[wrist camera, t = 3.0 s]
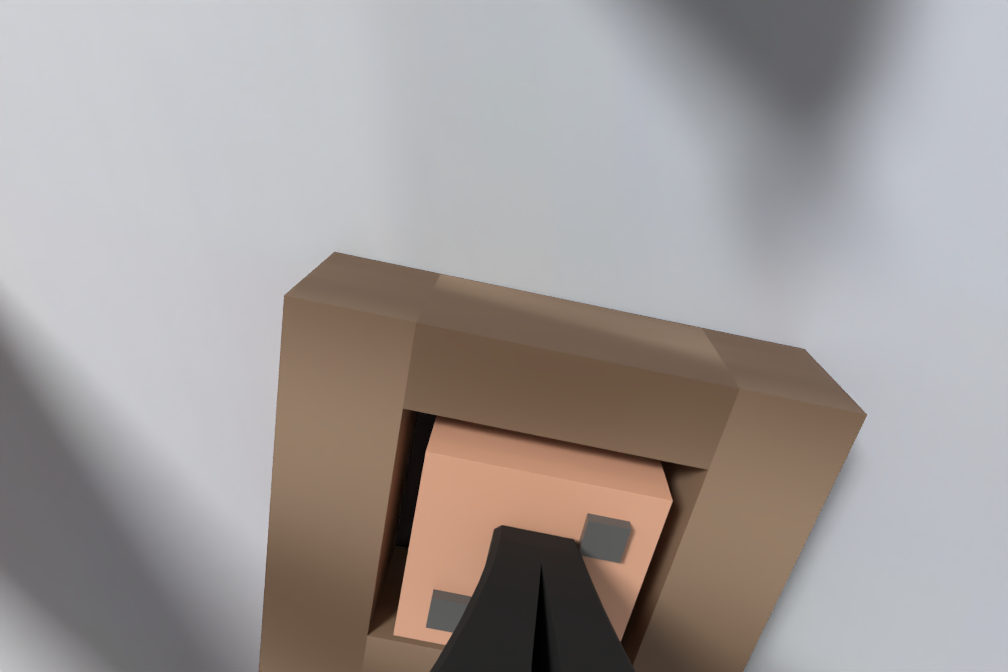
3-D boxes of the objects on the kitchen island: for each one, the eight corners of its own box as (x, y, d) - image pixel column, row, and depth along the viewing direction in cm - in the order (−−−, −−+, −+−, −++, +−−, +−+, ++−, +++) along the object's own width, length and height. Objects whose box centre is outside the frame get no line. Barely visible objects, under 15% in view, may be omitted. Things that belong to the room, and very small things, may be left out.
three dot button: (597, 586, 14) (609, 685, 11) (415, 551, 14) (390, 643, 11) (650, 429, 12) (675, 508, 10) (445, 387, 12) (423, 458, 10)
